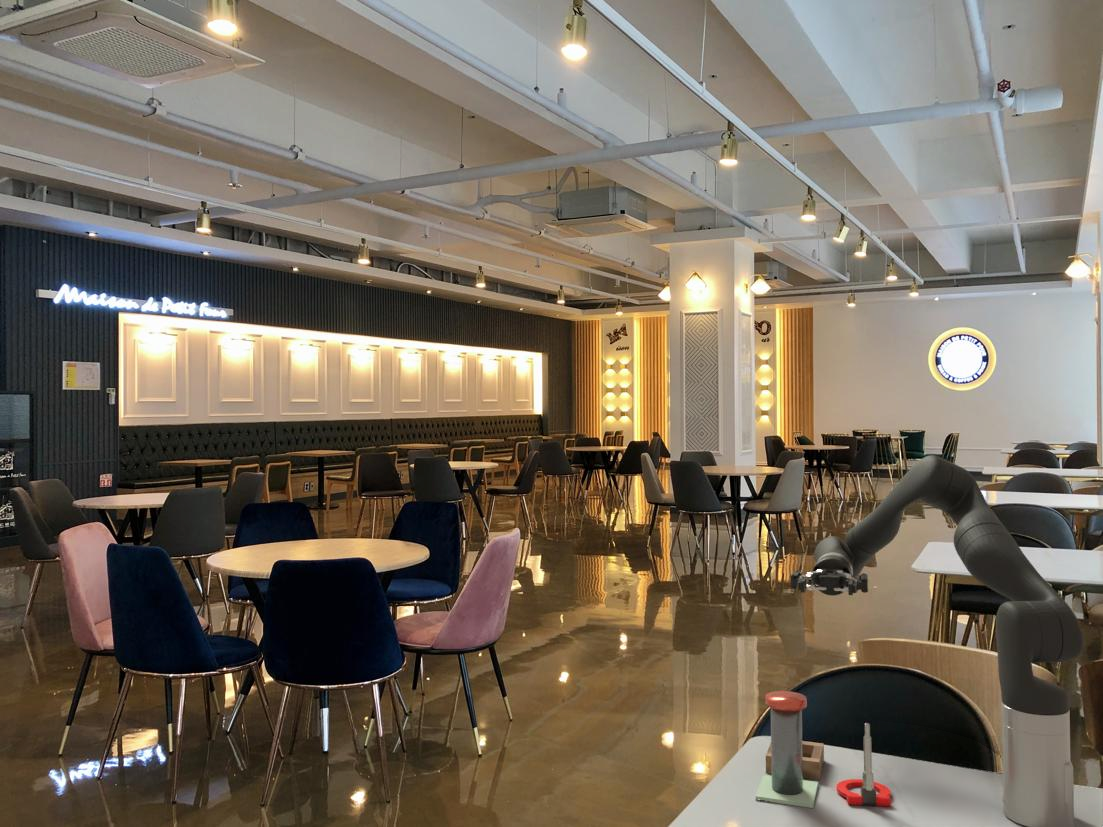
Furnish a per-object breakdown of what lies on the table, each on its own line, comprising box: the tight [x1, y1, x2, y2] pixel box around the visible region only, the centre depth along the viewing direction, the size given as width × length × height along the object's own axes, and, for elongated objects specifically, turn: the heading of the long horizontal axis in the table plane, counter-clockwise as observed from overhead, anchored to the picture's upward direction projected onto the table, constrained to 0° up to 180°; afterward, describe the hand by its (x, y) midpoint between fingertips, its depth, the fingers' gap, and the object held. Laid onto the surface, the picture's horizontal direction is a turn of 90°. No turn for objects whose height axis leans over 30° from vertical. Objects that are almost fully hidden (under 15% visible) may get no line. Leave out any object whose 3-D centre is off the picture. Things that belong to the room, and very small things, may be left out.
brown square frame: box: [765, 740, 825, 781], centre depth 159 cm, size 9×9×3 cm
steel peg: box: [765, 690, 808, 795], centre depth 148 cm, size 7×7×15 cm
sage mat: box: [755, 774, 819, 809], centre depth 148 cm, size 9×9×1 cm
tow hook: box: [836, 722, 892, 807], centre depth 147 cm, size 8×13×9 cm
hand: (826, 588), depth 166 cm, fingers open, 8 cm apart
